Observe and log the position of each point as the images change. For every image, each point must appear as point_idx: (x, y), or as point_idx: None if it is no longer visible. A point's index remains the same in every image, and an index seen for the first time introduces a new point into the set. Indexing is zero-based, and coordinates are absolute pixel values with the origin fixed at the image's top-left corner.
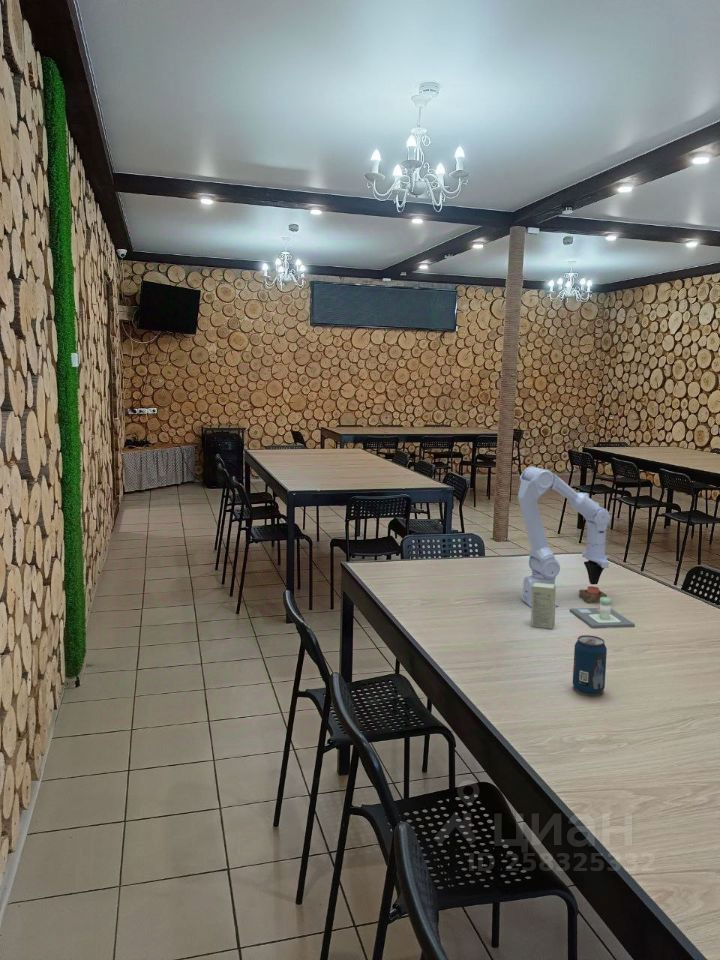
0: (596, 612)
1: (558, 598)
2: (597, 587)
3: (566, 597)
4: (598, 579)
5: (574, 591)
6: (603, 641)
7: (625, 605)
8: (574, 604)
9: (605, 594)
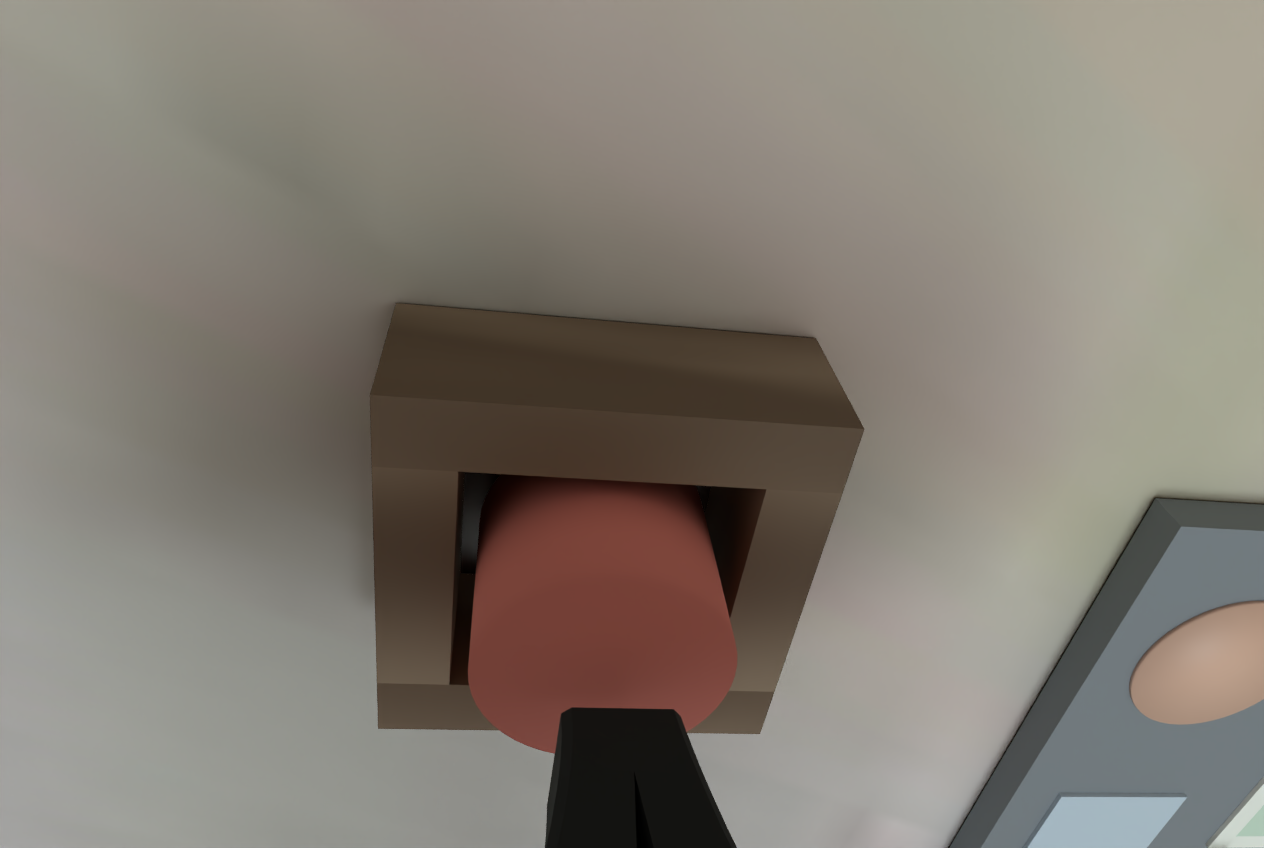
0: (1209, 752)
1: (433, 841)
2: (590, 583)
3: (397, 758)
4: (725, 839)
5: (13, 546)
6: None
7: (1140, 47)
8: (726, 775)
9: (819, 441)
